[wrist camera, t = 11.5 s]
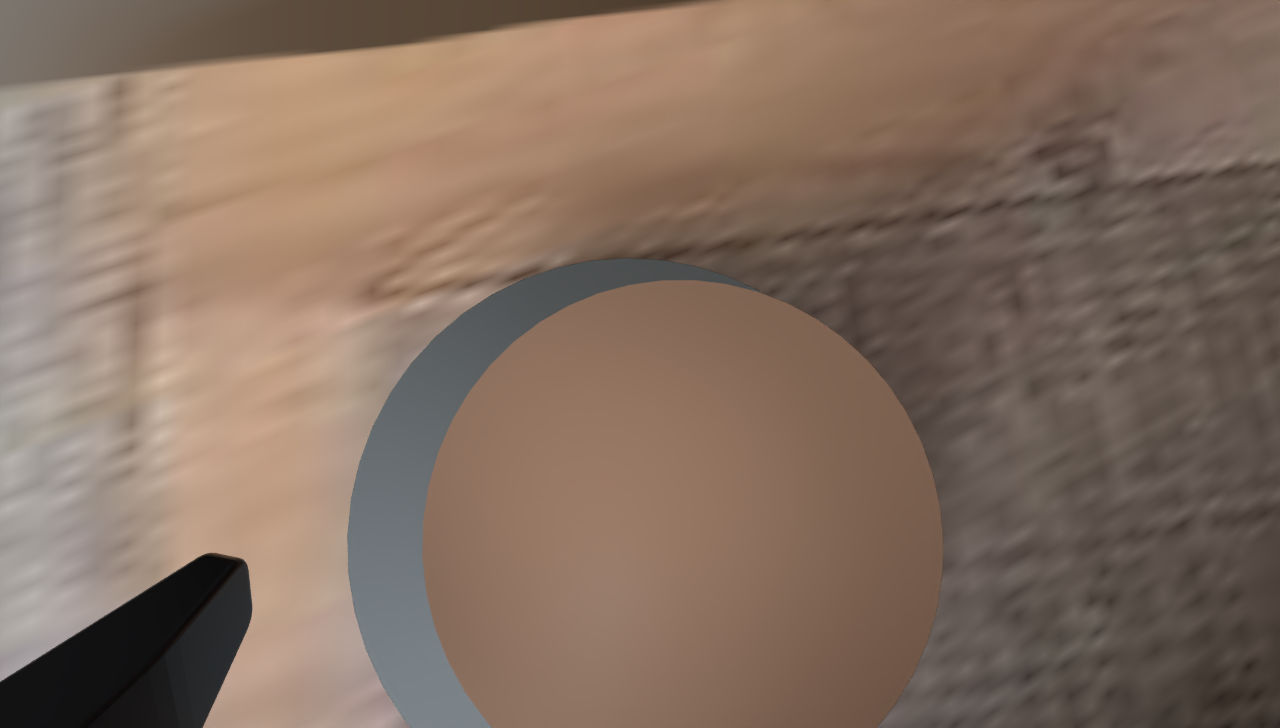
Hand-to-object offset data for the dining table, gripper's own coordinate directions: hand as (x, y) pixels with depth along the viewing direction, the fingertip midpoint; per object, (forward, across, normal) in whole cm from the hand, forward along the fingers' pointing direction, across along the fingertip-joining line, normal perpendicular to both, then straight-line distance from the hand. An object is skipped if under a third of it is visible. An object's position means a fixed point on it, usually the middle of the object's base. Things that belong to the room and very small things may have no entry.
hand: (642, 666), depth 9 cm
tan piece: (+7, 0, +5) cm, 8 cm away
